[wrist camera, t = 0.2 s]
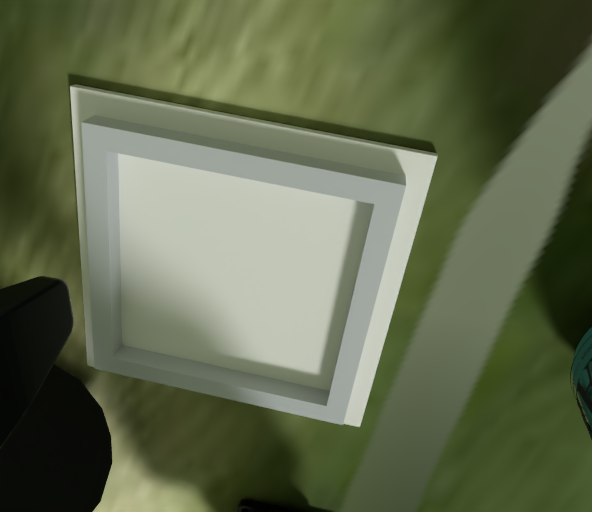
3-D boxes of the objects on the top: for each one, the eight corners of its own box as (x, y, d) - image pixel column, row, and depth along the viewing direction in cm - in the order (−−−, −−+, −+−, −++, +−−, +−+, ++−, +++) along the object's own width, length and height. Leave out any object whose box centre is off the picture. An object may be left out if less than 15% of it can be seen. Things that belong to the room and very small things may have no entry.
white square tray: (360, 421, 29) (358, 443, 28) (90, 360, 30) (77, 379, 29) (436, 153, 22) (439, 166, 20) (75, 84, 23) (55, 92, 21)
